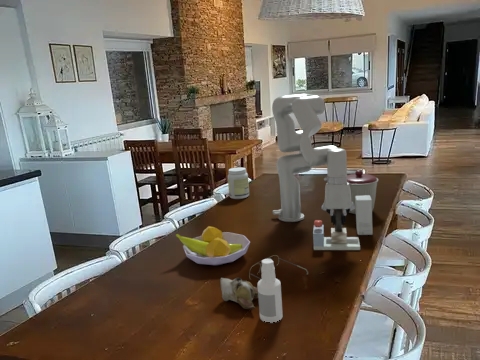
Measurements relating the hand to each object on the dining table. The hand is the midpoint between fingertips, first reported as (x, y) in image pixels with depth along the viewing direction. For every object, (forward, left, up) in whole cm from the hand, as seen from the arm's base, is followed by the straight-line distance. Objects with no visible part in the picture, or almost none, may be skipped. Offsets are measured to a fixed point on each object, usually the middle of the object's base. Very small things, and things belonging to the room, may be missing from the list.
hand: (338, 223), depth 173 cm
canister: (+11, +43, -9) cm, 46 cm away
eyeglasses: (-22, -29, -10) cm, 38 cm away
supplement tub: (-56, +75, -9) cm, 94 cm away
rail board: (-1, 0, -9) cm, 9 cm away
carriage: (0, 0, -7) cm, 7 cm away
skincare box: (+11, +15, -9) cm, 21 cm away
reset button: (-8, 0, -1) cm, 8 cm away
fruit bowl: (-49, -13, -10) cm, 52 cm away
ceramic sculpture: (-32, -47, -10) cm, 57 cm away
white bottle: (-21, -55, -9) cm, 60 cm away
